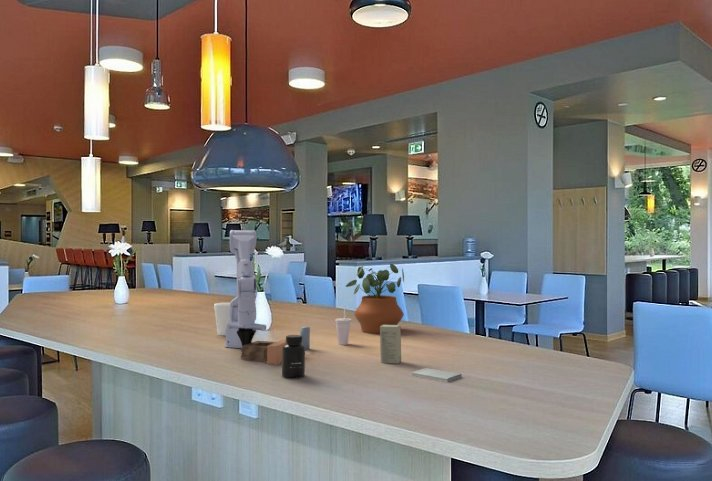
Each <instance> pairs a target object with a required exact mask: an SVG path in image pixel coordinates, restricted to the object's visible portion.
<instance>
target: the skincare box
mask: <svg viewBox="0 0 712 481" xmlns="http://www.w3.org/2000/svg"><path fill="white" fill-rule="evenodd" d="M401 326H402V325H401V324H398V325H382V326H380V334H379V337H380V338H379V339H380V341H379V342H380V343H379V344H380V363H384V364H399V363H400V362H402V332H401V328H402V327H401Z"/></svg>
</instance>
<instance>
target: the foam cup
mask: <svg viewBox="0 0 712 481" xmlns="http://www.w3.org/2000/svg"><path fill="white" fill-rule="evenodd" d="M234 306H238V305H234ZM229 307H230V302H217V303H214V304H213V310H214V317H215V324H216V332H217V335H218V336H223V337H224V336H225V337H226V327H227V323H233V322H231V321H230V320H229Z"/></svg>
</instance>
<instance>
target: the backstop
mask: <svg viewBox="0 0 712 481" xmlns="http://www.w3.org/2000/svg"><path fill="white" fill-rule="evenodd" d="M275 342H276V343H273V344H270V345H268V346H267V361H266V363H267V365H274V366H276V365H278V364H280V363H282V348H283V346H284V345H286V344H287V343H286V338H284V339H281V340H279V341H275Z"/></svg>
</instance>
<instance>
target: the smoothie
mask: <svg viewBox="0 0 712 481" xmlns="http://www.w3.org/2000/svg"><path fill="white" fill-rule="evenodd" d="M334 322H335V326H336V335H337V343H338V346H339V345H340V346H346V345H348V344H349V340H350V339H349V337H350V330H351V323H352V319H351V318H346V308H345V307H344V308H343V317H342V318H341V317H340V318H339V317H338V318H335V321H334Z"/></svg>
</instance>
